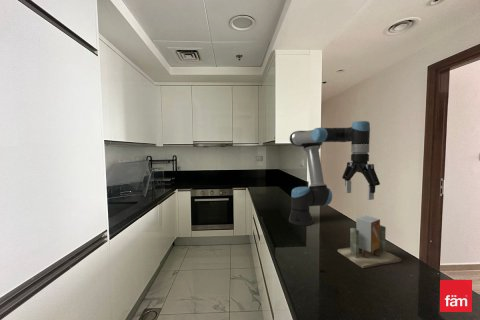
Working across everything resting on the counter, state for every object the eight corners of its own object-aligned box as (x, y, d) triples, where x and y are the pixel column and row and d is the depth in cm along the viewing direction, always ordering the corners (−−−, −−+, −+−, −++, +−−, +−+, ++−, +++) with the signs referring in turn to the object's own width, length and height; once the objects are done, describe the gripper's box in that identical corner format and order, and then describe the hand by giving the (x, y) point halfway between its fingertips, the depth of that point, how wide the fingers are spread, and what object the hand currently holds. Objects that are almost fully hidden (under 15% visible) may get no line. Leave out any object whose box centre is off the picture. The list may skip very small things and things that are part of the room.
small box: (371, 252, 82) (371, 222, 82) (355, 246, 88) (355, 218, 87) (380, 247, 86) (380, 219, 86) (365, 242, 92) (365, 215, 91)
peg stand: (337, 251, 92) (337, 224, 91) (372, 246, 96) (372, 220, 96) (362, 268, 78) (362, 236, 78) (401, 261, 83) (401, 231, 82)
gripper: (335, 152, 106) (334, 190, 108) (376, 154, 82) (374, 203, 83) (347, 152, 108) (346, 190, 109) (390, 153, 83) (389, 202, 85)
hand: (358, 196), depth 96 cm, fingers open, 13 cm apart
